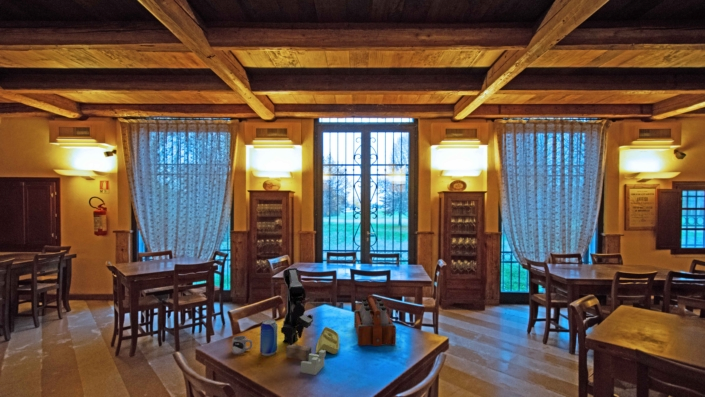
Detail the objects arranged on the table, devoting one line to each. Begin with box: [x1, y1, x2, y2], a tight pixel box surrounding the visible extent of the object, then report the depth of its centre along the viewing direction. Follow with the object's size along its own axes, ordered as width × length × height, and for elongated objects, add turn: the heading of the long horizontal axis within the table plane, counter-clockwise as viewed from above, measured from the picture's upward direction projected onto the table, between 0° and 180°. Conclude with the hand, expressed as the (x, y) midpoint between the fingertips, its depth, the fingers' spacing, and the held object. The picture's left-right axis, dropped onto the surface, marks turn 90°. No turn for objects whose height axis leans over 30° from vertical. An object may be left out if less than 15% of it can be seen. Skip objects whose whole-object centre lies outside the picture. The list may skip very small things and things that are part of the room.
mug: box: [231, 335, 253, 355], centre depth 167 cm, size 10×7×7 cm, turn 94°
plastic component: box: [315, 326, 340, 355], centre depth 173 cm, size 20×7×10 cm
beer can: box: [259, 318, 278, 357], centre depth 165 cm, size 8×8×16 cm
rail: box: [285, 343, 312, 362], centre depth 161 cm, size 12×4×5 cm, turn 71°
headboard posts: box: [300, 350, 327, 376], centre depth 149 cm, size 8×10×7 cm
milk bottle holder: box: [353, 294, 397, 347], centre depth 190 cm, size 21×35×19 cm, turn 4°
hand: (295, 341), depth 162 cm, fingers open, 9 cm apart
